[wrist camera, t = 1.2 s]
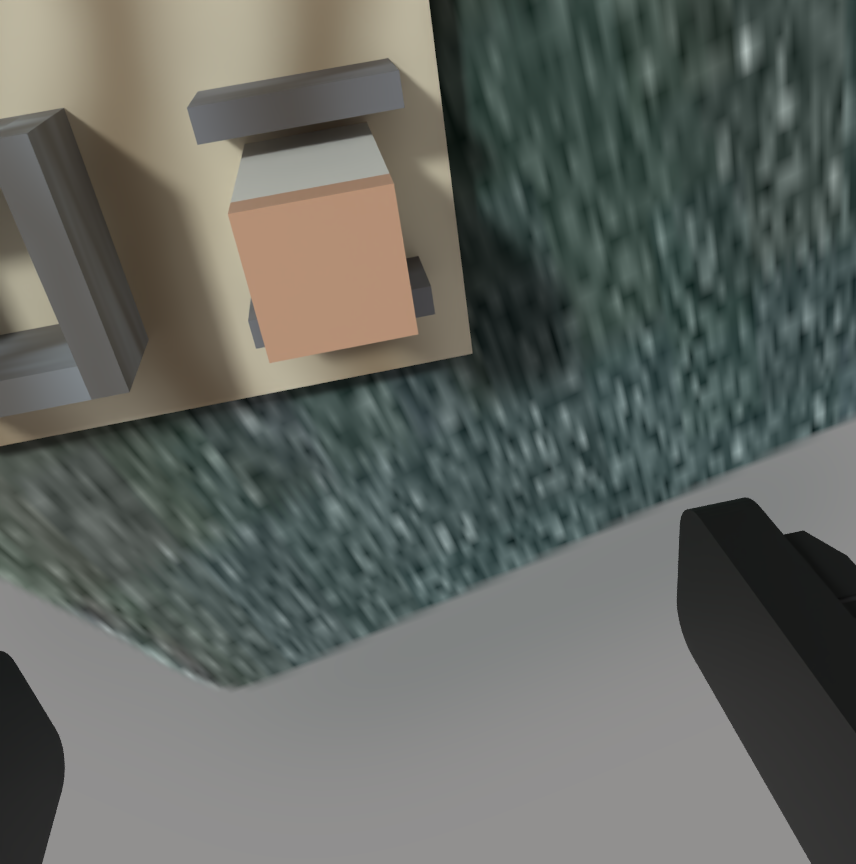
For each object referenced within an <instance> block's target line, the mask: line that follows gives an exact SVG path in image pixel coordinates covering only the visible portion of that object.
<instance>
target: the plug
mask: <svg viewBox="0 0 856 864" xmlns="http://www.w3.org/2000/svg"><path fill="white" fill-rule="evenodd" d="M228 217H229V220H230V224H231V228H232V231H233V235H234V238H235V242H236V245H237V249H238V253H239V256H240V260H241V263H242V267H243V270H244V274H245V278H246V281H247V285H248V288H249V292H250V295H251V299H252V303H253V306H254V310H255V313H256V317H257V320H258V324H259V328H260V331H261V335H262V338H263V342H264V345H265V349H266V352H267V356H268V360H269V363H273V362H278V361H284V360H289V359H294V358H299V357H304V356H309V355H314V354H320V353H325V352H330V351H335V350H340V349H345V348H351V347H356V346H361V345H366V344H371V343H376V342H382V341H387V340H392V339H397V338H402V337H407V336H412V335H418V329H417V322H416V316H415V310H414V304H413V298H412V292H411V286H410V279H409V273H408V267H407V261H406V255H405V249H404V243H403V236H402V230H401V224H400V218H399V212H398V206H397V200H396V193H395V187H394V183H393V180H392V178H391V176H390V174H389V171H388V169H387V167H386V164H385V162H384V160H383V158H382V155H381V153H380V151H379V149H378V146H377V144H376V142H375V139H374V137H373V135H372V133H371V130H370V128H369V126H368V124H367V122H364V123H358V124H353V125H347V126H342V127H336V128H331V129H325V130H319V131H314V132H308V133H303V134H297V135H292V136H286V137H281V138H275V139H269V140H264V141H258V142H253V143H247V144H244V148H243V153H242V157H241V161H240V165H239V169H238V173H237V178H236V182H235V186H234V190H233V194H232V198H231V202H230V207H229V211H228Z"/></svg>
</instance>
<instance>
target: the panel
mask: <svg viewBox="0 0 856 864" xmlns="http://www.w3.org/2000/svg"><path fill="white" fill-rule="evenodd" d="M364 122H367V124H368V126H369V128H370V130H371V133H372V135H373V137H374V139H375V142H376V144H377V146H378V149H379V151H380V153H381V155H382V158H383V160H384V162H385V164H386V167H387V169H388V171H389V174H390V176H391V178H392V180H393V183H394V187H395V193H396V200H397V206H398V212H399V218H400V224H401V230H402V236H403V243H404V249H405V255H406V261H407V267H408V273H409V279H410V286H411V292H412V298H413V304H414V310H415V316H416V322H417V329H418V335H412V336H407V337H402V338H397V339H392V340H387V341H382V342H376V343H371V344H366V345H361V346H356V347H351V348H345V349H340V350H335V351H330V352H325V353H320V354H314V355H309V356H304V357H299V358H294V359H289V360H284V361H278V362H273V363H269V360H268V356H267V352H266V349H265V345H264V342H263V338H262V335H261V331H260V328H259V324H258V320H257V317H256V313H255V310H254V306H253V303H252V299H251V295H250V292H249V288H248V285H247V281H246V278H245V274H244V270H243V267H242V263H241V260H240V256H239V253H238V249H237V245H236V242H235V238H234V235H233V231H232V228H231V224H230V220H229V217H228V211H229V207H230V202H231V198H232V194H233V190H234V186H235V182H236V178H237V173H238V169H239V165H240V161H241V157H242V153H243V148H244V144H247V143H253V142H258V141H264V140H269V139H275V138H281V137H286V136H292V135H297V134H303V133H308V132H314V131H319V130H325V129H331V128H336V127H342V126H347V125H353V124H358V123H364ZM468 354H473V352H472V344H471V336H470V328H469V320H468V312H467V304H466V296H465V288H464V280H463V272H462V264H461V255H460V247H459V239H458V231H457V223H456V215H455V207H454V199H453V191H452V183H451V175H450V167H449V159H448V151H447V143H446V135H445V126H444V118H443V110H442V102H441V94H440V86H439V78H438V70H437V62H436V54H435V46H434V38H433V30H432V22H431V14H430V5H429V0H0V446H3V445H9V444H14V443H19V442H24V441H29V440H34V439H39V438H44V437H49V436H55V435H60V434H65V433H70V432H75V431H80V430H85V429H90V428H95V427H100V426H106V425H111V424H116V423H121V422H126V421H131V420H136V419H141V418H146V417H152V416H157V415H162V414H167V413H172V412H177V411H182V410H187V409H192V408H197V407H203V406H208V405H213V404H218V403H223V402H228V401H233V400H238V399H243V398H248V397H254V396H259V395H264V394H269V393H274V392H279V391H284V390H289V389H294V388H300V387H305V386H310V385H315V384H320V383H325V382H330V381H335V380H340V379H345V378H351V377H356V376H361V375H366V374H371V373H376V372H381V371H386V370H391V369H397V368H402V367H407V366H412V365H417V364H422V363H427V362H432V361H437V360H442V359H448V358H453V357H458V356H463V355H468Z"/></svg>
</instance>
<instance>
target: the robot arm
mask: <svg viewBox="0 0 856 864" xmlns="http://www.w3.org/2000/svg"><path fill="white" fill-rule="evenodd" d="M677 610H678V617H679V621H680V625H681V629H682V633H683V635H684V638H685V641H686V644H687V646H688V648H689V650H690V652H691V654H692V656H693V658H694V659H695V661H696V663H697V664H698V666H699V668H700V670H701V672H702V673H703V675H704V677H705V679H706V680H707V682H708V684H709V686H710V687H711V689H712V691H713V693H714V694H715V696H716V698H717V700H718V701H719V703H720V705H721V707H722V708H723V710H724V712H725V714H726V715H727V717H728V719H729V721H730V722H731V724H732V726H733V728H734V729H735V731H736V733H737V734H738V736H739V738H740V740H741V741H742V743H743V745H744V747H745V748H746V750H747V752H748V754H749V756H750V757H751V759H752V761H753V763H754V764H755V766H756V768H757V770H758V771H759V773H760V775H761V777H762V778H763V780H764V782H765V783H766V785H767V787H768V789H769V790H770V792H771V794H772V796H773V797H774V799H775V801H776V803H777V804H778V806H779V808H780V810H781V811H782V813H783V815H784V817H785V818H786V820H787V822H788V824H789V825H790V827H791V829H792V830H793V832H794V834H795V836H796V837H797V839H798V841H799V843H800V845H801V846H802V848H803V850H804V852H805V853H806V855H807V857H808V859H809V860H810V862H811V864H856V565H855V564H854V563H853V562H852V561H851V560H850V559H849V557H848V556H847V555H845V554H843V553H841V552H840V551H838V550H836V549H834V548H833V547H831V546H829V545H828V544H825V543H824V542H822V541H821V540H819V539H817V538H815V537H813V536H812V535H810V534H808V533H807V532H805V531H799V532H795V533H790V534H785V535H783V533H782V532H781V531H780V530H779V529H778V528H777V527H776V525H775V524H774V523H773V522H772V520H771V519H770V518H769V517H768V516H767V515H766V513H765V512H764V511H763V510H762V509H761V508H760V506H759V505H758V504H757V503H756V502H755V501H753V500H751V499H749V498H740V499H735V500H731V501H726V502H721V503H716V504H712V505H707V506H702V507H697V508H692V509H687V510H685V511H684V512H683V514H682V516H681V520H680V536H679V561H678V584H677ZM64 764H65V763H64V753H63V747H62V743H61V740H60V737H59V734H58V733H57V731H56V729H55V727H54V726H53V724H52V722H51V721H50V719H49V717H48V716H47V714H46V712H45V711H44V709H43V707H42V706H41V704H40V703H39V701H38V699H37V698H36V696H35V694H34V693H33V691H32V689H31V688H30V686H29V685H28V683H27V681H26V680H25V678H24V676H23V675H22V673H21V671H20V670H19V668H18V666H17V665H16V663H15V662H14V660H13V659H12V658H11V657H10V656H9V655H8V654H7V653H5V652H3V651H0V864H42V862H43V858H44V854H45V850H46V847H47V843H48V839H49V835H50V832H51V828H52V825H53V821H54V817H55V814H56V810H57V806H58V802H59V799H60V795H61V792H62V787H63V782H64V770H65V765H64Z"/></svg>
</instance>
